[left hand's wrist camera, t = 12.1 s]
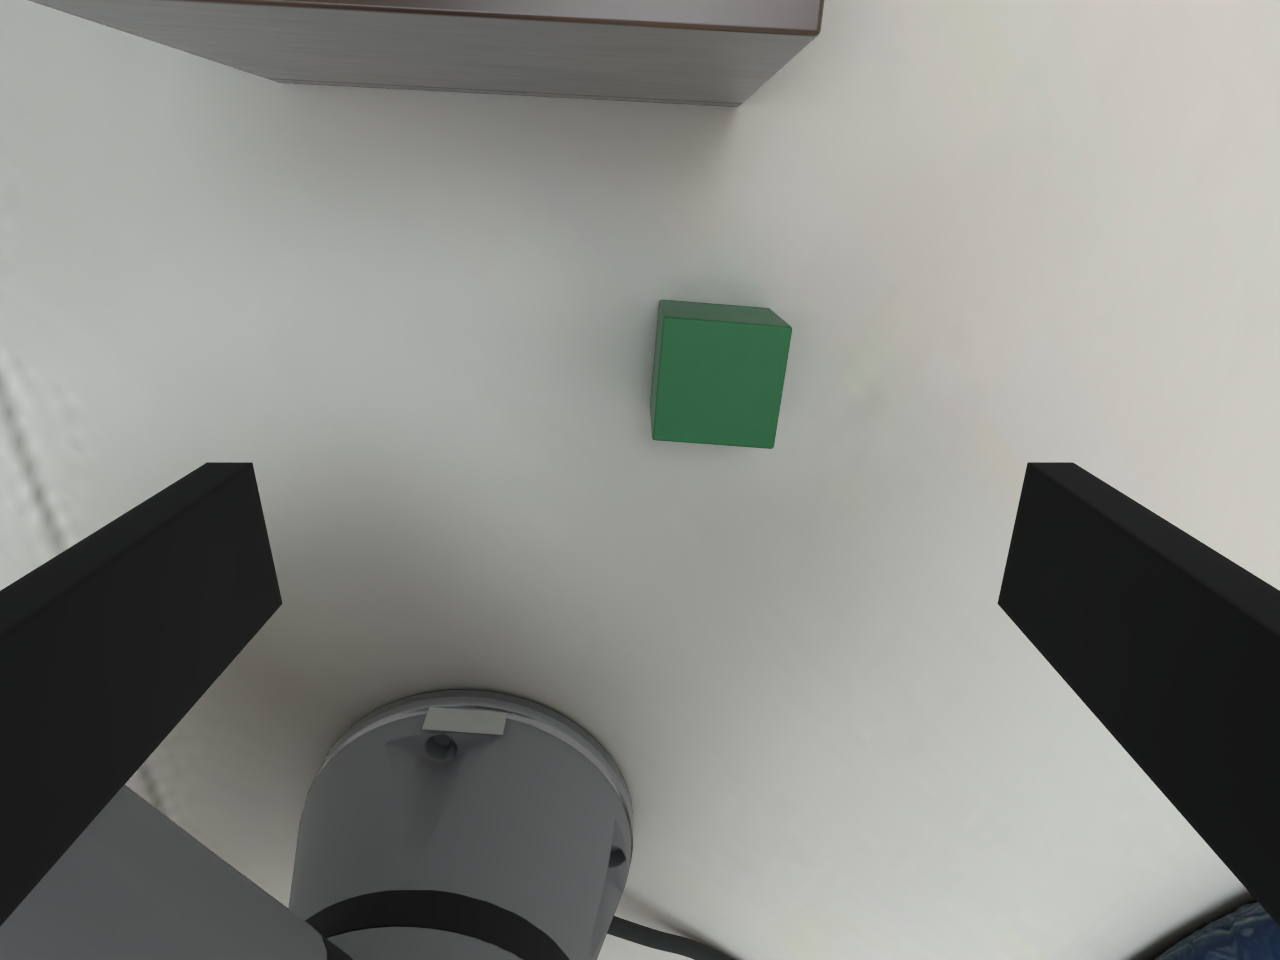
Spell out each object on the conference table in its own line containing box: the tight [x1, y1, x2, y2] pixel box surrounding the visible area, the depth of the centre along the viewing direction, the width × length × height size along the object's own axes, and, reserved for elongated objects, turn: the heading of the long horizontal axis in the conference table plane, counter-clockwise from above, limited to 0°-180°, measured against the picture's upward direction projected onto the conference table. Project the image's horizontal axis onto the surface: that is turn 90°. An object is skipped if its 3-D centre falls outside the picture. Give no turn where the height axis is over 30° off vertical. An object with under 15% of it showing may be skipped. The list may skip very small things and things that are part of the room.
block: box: [650, 300, 792, 449], centre depth 25 cm, size 4×4×4 cm
